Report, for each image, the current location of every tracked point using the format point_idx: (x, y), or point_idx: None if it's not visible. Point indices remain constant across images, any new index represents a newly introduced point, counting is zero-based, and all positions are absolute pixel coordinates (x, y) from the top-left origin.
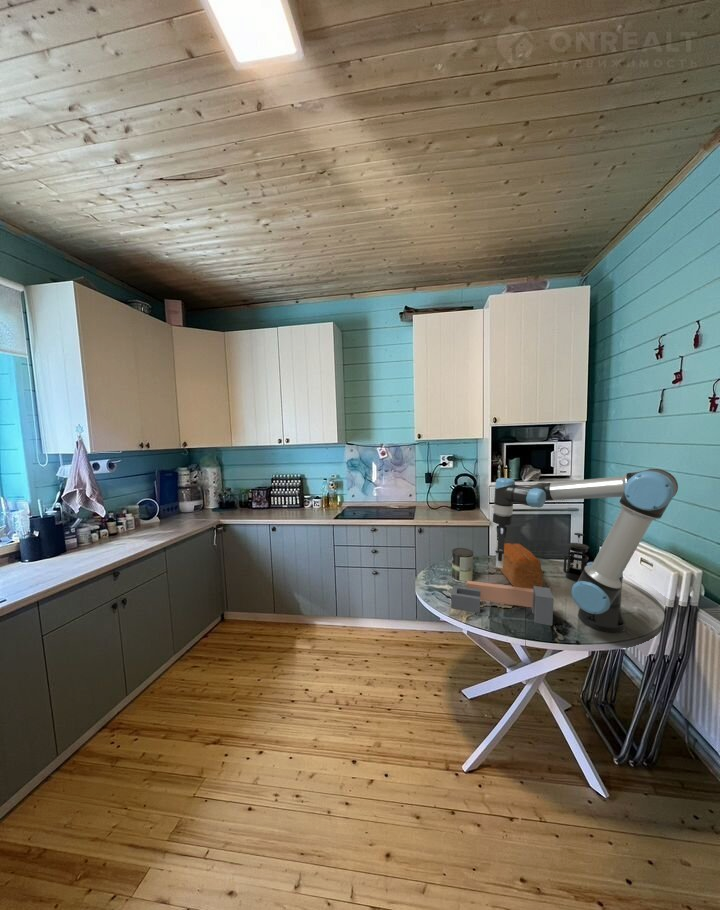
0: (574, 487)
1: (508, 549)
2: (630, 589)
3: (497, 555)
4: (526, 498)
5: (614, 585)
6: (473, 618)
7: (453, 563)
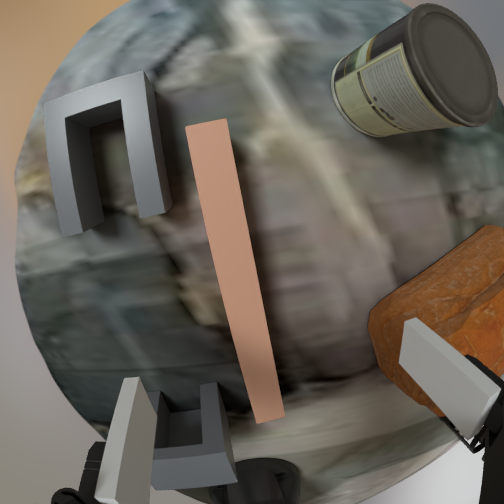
0: None
1: None
2: (416, 467)
3: (105, 473)
4: None
5: None
6: (44, 214)
7: (381, 31)
